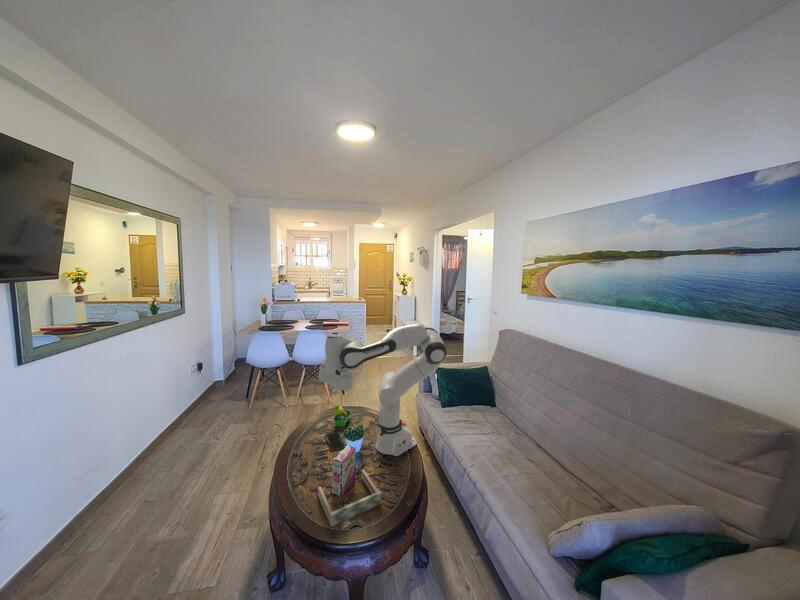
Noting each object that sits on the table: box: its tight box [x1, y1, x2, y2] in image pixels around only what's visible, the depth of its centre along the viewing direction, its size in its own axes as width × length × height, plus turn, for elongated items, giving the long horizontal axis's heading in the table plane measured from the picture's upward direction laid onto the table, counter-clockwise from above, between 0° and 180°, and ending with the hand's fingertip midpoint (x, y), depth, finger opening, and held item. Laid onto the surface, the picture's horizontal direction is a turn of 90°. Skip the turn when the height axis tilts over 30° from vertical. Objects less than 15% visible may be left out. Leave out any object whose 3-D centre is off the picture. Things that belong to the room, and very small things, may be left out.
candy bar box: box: [331, 445, 356, 498], centre depth 131 cm, size 11×5×16 cm, turn 156°
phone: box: [324, 431, 346, 452], centre depth 163 cm, size 8×1×15 cm
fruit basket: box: [332, 404, 352, 428], centre depth 181 cm, size 11×9×11 cm
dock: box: [317, 469, 382, 527], centre depth 125 cm, size 21×17×5 cm
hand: (334, 393), depth 146 cm, fingers closed
